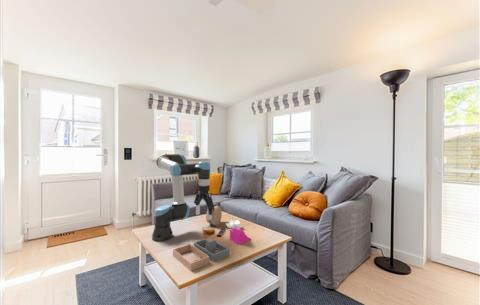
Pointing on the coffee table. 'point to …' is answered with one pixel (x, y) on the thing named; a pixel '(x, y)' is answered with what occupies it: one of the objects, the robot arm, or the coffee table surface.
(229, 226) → the lotus flower
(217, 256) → the trough
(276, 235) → the coffee table surface
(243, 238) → the bracket
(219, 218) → the beige tall rounded piece
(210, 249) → the stone block
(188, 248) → the trough
